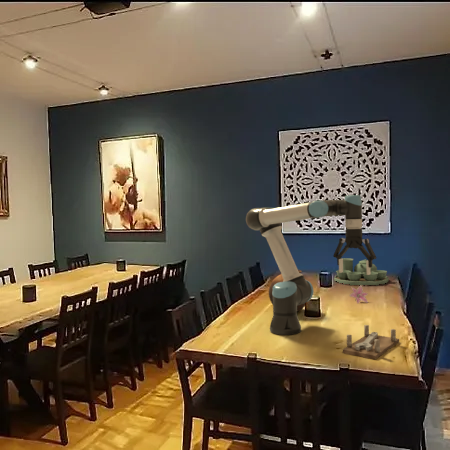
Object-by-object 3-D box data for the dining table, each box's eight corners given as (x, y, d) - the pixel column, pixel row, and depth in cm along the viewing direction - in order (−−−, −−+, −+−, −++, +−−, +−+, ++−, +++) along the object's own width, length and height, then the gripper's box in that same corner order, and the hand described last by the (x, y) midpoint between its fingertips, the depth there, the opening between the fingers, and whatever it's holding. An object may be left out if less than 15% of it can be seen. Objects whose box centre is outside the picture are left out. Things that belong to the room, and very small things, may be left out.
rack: (342, 352, 191) (342, 337, 191) (368, 337, 212) (368, 323, 212) (375, 359, 182) (375, 343, 182) (399, 342, 203) (399, 327, 203)
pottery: (262, 310, 270) (261, 268, 269) (294, 305, 281) (293, 264, 279) (284, 318, 250) (283, 272, 248) (318, 312, 260) (317, 268, 259)
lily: (346, 304, 282) (351, 292, 277) (346, 293, 292) (351, 281, 287) (365, 310, 281) (371, 298, 276) (365, 299, 291) (370, 287, 286)
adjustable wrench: (372, 335, 210) (372, 331, 210) (386, 337, 207) (386, 333, 207) (353, 349, 190) (353, 345, 190) (368, 352, 186) (368, 348, 186)
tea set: (332, 285, 340) (332, 263, 340) (336, 277, 379) (336, 257, 378) (389, 287, 329) (389, 264, 328) (387, 277, 367) (387, 257, 366)
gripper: (325, 228, 220) (326, 272, 221) (376, 229, 204) (377, 276, 205) (332, 227, 226) (333, 270, 227) (383, 228, 210) (383, 274, 211)
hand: (354, 273), depth 216 cm, fingers open, 13 cm apart
